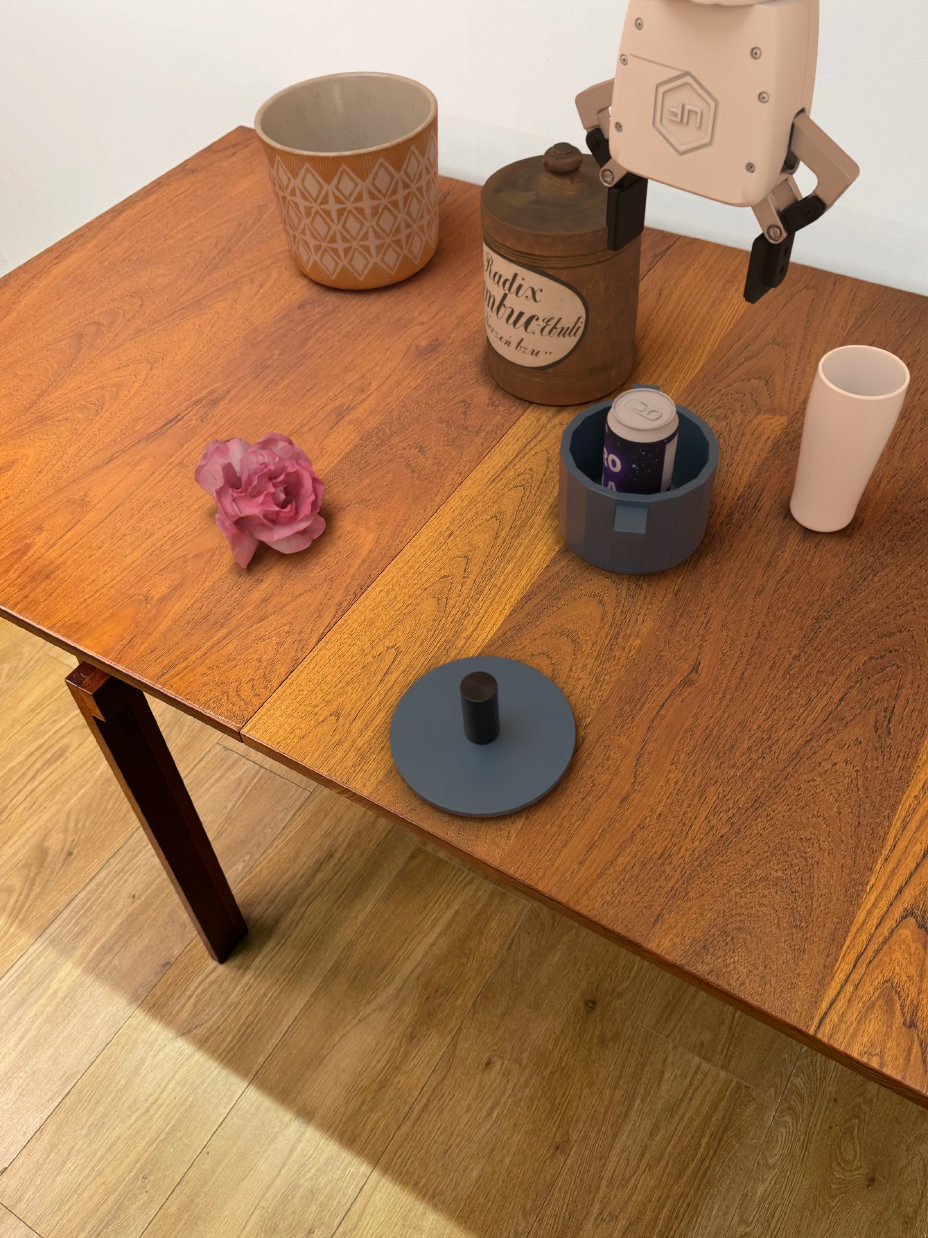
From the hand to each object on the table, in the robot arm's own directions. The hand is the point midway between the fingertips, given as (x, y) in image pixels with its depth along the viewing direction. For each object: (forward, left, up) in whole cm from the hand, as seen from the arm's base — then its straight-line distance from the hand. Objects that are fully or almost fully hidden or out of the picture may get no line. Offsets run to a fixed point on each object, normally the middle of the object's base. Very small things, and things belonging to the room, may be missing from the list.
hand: (690, 265), depth 61 cm
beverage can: (+2, -6, -28) cm, 29 cm away
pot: (+2, -6, -28) cm, 29 cm away
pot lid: (+11, +18, -28) cm, 35 cm away
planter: (+36, -46, -28) cm, 65 cm away
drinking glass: (-14, -9, -28) cm, 33 cm away
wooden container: (+11, -28, -28) cm, 41 cm away
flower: (+33, -1, -28) cm, 44 cm away
